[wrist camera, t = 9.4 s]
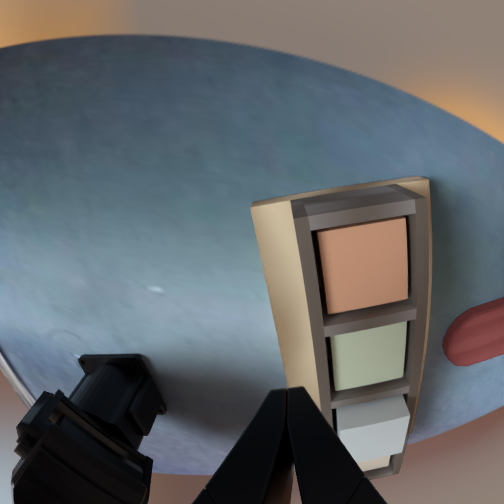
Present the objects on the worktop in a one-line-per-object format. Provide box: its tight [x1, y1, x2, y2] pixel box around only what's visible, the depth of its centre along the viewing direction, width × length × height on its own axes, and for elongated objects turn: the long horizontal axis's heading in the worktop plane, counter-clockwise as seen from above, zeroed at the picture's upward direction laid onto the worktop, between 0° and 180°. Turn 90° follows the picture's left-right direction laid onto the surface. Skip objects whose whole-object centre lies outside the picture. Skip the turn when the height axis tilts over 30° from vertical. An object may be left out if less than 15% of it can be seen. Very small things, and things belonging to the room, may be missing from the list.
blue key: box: [335, 394, 410, 463], centre depth 16 cm, size 4×4×3 cm
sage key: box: [327, 321, 407, 391], centre depth 17 cm, size 4×4×3 cm
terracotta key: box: [313, 216, 408, 314], centre depth 15 cm, size 4×4×3 cm
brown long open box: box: [250, 176, 432, 480], centre depth 18 cm, size 10×21×6 cm, turn 12°
